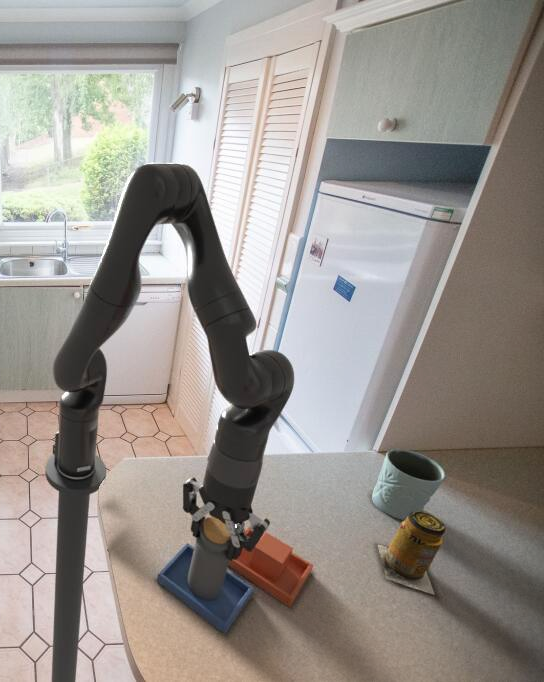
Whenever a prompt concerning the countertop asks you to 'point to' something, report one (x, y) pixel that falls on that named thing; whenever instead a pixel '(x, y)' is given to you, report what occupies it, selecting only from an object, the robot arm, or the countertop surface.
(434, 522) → the condiment
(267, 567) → the block
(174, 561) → the blue tray
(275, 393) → the robot arm
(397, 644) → the countertop surface
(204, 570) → the bottle
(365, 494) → the countertop surface
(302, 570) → the terracotta tray
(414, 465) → the light teal planter pot
